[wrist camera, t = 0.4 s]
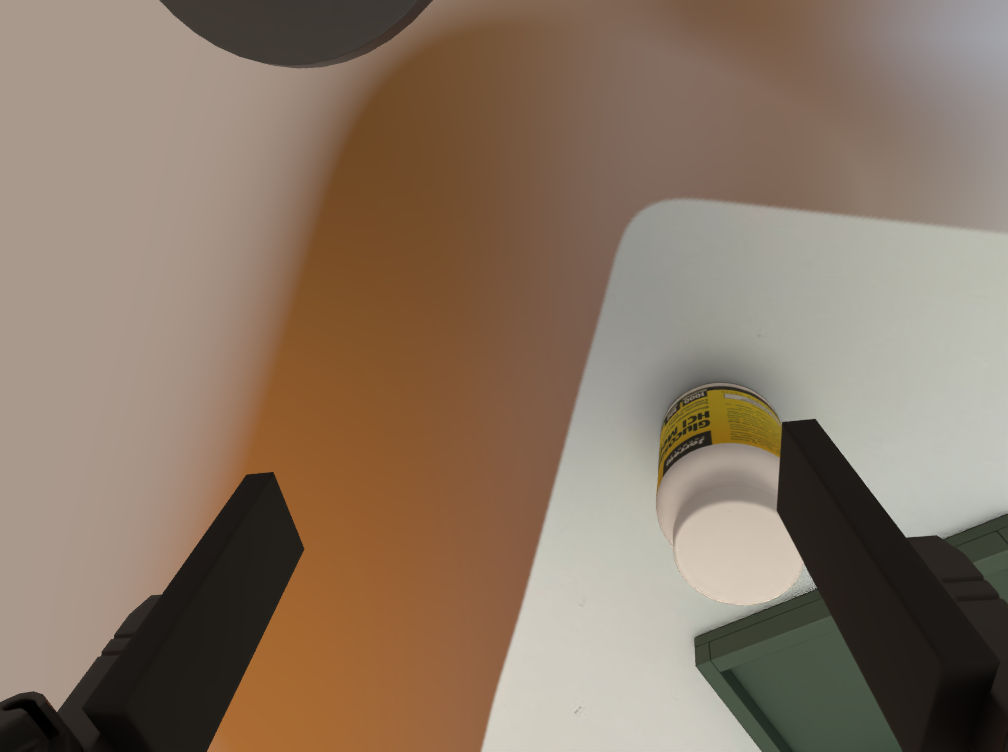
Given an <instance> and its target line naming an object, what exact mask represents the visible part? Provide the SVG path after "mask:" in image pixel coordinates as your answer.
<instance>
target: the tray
mask: <svg viewBox="0 0 1008 752" xmlns="http://www.w3.org/2000/svg"><path fill="white" fill-rule="evenodd" d="M945 541H946V542H948V543H949V544H951V545H952V546H954V547H955V548H957V549H958V550H960V551H961V552H963V553H964V554H965V555H966V556H967V557H968V558H969V559H970V561H971V562H972V563H973V564H974V565H975V566H976V568H977V569H978V570H979V571H980V572H981V573H982V575H983V576H984V580H988V582H989V583H990V584H991V585H992V586H993V587H994V589H995V590H996V591H997V592H998V593H999V596H1000V598H1001V599H1004V600H1005V601H1006V603H1007V604H1008V515H1005V516H1003V517H1000V518H998V519H995V520H993V521H990V522H988V523H985V524H983V525H980V526H978V527H975V528H972V529H970V530H967V531H965V532H962V533H960V534H957V535H955V536H952V537H950V538H947V539H945ZM694 643H695V663H696V667H697V669H698V670H699V671H700V672H701V674H702V675H703V676H704V678H705V679H706V680H707V681H708V683H709V684H710V685H711V687H712V688H713V689H714V690H715V692H716V693H717V694H718V696H719V697H720V698H721V699H722V701H723V702H724V703H725V705H726V706H727V707H728V708H729V710H730V711H731V712H732V714H733V715H734V716H735V718H736V719H737V720H738V721H739V723H740V724H741V725H742V727H743V728H744V729H745V730H746V732H747V733H748V734H749V736H750V737H751V738H752V739H753V741H754V742H755V743H756V745H757V746H758V747H759V748H760V750H761V751H762V752H902V750H901V748H900V746H899V744H898V742H897V740H896V738H895V736H894V734H893V732H892V730H891V729H890V727H889V725H888V723H887V721H886V719H885V717H884V715H883V713H882V711H881V709H880V708H879V706H878V704H877V702H876V700H875V698H874V696H873V694H872V692H871V690H870V688H869V686H868V685H867V683H866V681H865V679H864V677H863V675H862V673H861V671H860V669H859V667H858V665H857V664H856V662H855V660H854V658H853V656H852V654H851V652H850V650H849V648H848V646H847V644H846V643H845V641H844V639H843V637H842V635H841V633H840V631H839V629H838V627H837V625H836V623H835V621H834V620H833V618H832V616H831V614H830V612H829V610H828V608H827V606H826V604H825V602H824V600H823V599H822V597H821V595H820V593H819V591H818V590H815V591H813V592H810V593H808V594H805V595H802V596H800V597H797V598H795V599H792V600H790V601H787V602H785V603H782V604H780V605H777V606H775V607H772V608H770V609H767V610H764V611H762V612H759V613H757V614H754V615H752V616H749V617H747V618H744V619H742V620H739V621H737V622H734V623H731V624H729V625H726V626H724V627H721V628H719V629H716V630H714V631H711V632H709V633H706V634H704V635H701V636H698V637H696V638H694Z"/></svg>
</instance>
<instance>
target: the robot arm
mask: <svg viewBox="0 0 1008 752" xmlns="http://www.w3.org/2000/svg"><path fill="white" fill-rule="evenodd" d="M776 511H777V512H778V514H779V516H780V518H781V520H782V522H783V524H784V526H785V528H786V530H787V532H788V533H789V535H790V537H791V539H792V541H793V543H794V545H795V547H796V549H797V551H798V553H799V555H800V556H801V558H802V560H803V562H804V564H805V566H806V568H807V570H808V572H809V574H810V576H811V577H812V579H813V581H814V583H815V585H816V587H817V589H818V591H819V593H820V595H821V597H822V599H823V600H824V602H825V604H826V606H827V608H828V610H829V612H830V614H831V616H832V618H833V620H834V621H835V623H836V625H837V627H838V629H839V631H840V633H841V635H842V637H843V639H844V641H845V643H846V644H847V646H848V648H849V650H850V652H851V654H852V656H853V658H854V660H855V662H856V664H857V665H858V667H859V669H860V671H861V673H862V675H863V677H864V679H865V681H866V683H867V685H868V686H869V688H870V690H871V692H872V694H873V696H874V698H875V700H876V702H877V704H878V706H879V708H880V709H881V711H882V713H883V715H884V717H885V719H886V721H887V723H888V725H889V727H890V729H891V730H892V732H893V734H894V736H895V738H896V740H897V742H898V744H899V746H900V748H901V750H902V752H1008V604H1007V603H1006V601H1005V600H1004V599H1001V598H1000V596H999V593H998V592H997V591H996V590H995V589H994V587H993V586H992V585H991V584H990V583H989V582H988V580H984V576H983V575H982V573H981V572H980V571H979V570H978V569H977V568H976V566H975V565H974V564H973V563H972V562H971V561H970V559H969V558H968V557H967V556H966V555H965V554H964V553H963V552H961V551H960V550H958V549H957V548H955V547H954V546H952V545H951V544H949V543H948V542H946V541H945V540H943V539H942V538H940V537H939V536H937V535H936V536H923V537H909V538H906V537H905V536H904V534H903V533H902V532H901V530H900V529H899V528H898V527H897V525H896V524H895V523H894V521H893V520H892V519H891V517H890V516H889V515H888V513H887V512H886V511H885V510H884V508H883V507H882V506H881V504H880V503H879V502H878V500H877V499H876V498H875V496H874V495H873V494H872V493H871V491H870V490H869V489H868V487H867V486H866V485H865V483H864V482H863V481H862V479H861V478H860V477H859V475H858V474H857V473H856V472H855V470H854V469H853V468H852V466H851V465H850V464H849V462H848V461H847V460H846V458H845V457H844V456H843V455H842V453H841V452H840V451H839V449H838V448H837V447H836V445H835V444H834V443H833V441H832V440H831V439H830V438H829V436H828V435H827V434H826V432H825V431H824V430H823V428H822V427H821V426H820V424H819V423H818V422H817V420H816V419H809V420H799V421H789V422H782V434H781V449H780V464H779V479H778V495H777V510H776ZM303 551H304V547H303V544H302V542H301V540H300V537H299V534H298V532H297V530H296V527H295V524H294V522H293V520H292V517H291V515H290V512H289V510H288V507H287V505H286V502H285V500H284V497H283V495H282V492H281V490H280V487H279V485H278V483H277V480H276V478H275V475H274V473H273V472H270V473H259V474H248V475H246V476H245V478H244V479H243V481H242V482H241V484H240V485H239V486H238V488H237V489H236V490H235V492H234V494H233V495H232V496H231V498H230V499H229V500H228V502H227V503H226V505H225V506H224V507H223V509H222V510H221V512H220V513H219V514H218V516H217V517H216V519H215V520H214V522H213V523H212V525H211V526H210V527H209V529H208V530H207V531H206V533H205V534H204V536H203V537H202V539H201V540H200V541H199V543H198V544H197V546H196V547H195V548H194V550H193V551H192V553H191V554H190V556H189V557H188V558H187V560H186V561H185V563H184V564H183V565H182V567H181V568H180V570H179V571H178V572H177V574H176V575H175V577H174V578H173V580H172V581H171V582H170V584H169V585H168V587H167V588H166V590H165V591H164V592H163V594H162V595H152V596H150V597H149V598H148V599H147V600H145V601H144V602H143V603H142V604H141V605H140V606H139V607H137V608H136V609H135V610H134V611H133V612H132V613H130V614H129V616H128V617H127V618H126V620H125V621H124V622H123V624H122V625H121V626H120V628H119V629H118V631H117V632H116V633H115V635H114V639H111V640H110V641H109V643H108V644H107V645H106V647H105V648H104V649H103V651H102V655H101V656H100V657H98V658H97V659H96V660H95V662H94V663H93V664H92V666H91V667H90V669H89V670H88V671H87V672H86V674H85V675H84V677H83V678H82V679H81V681H80V682H79V683H78V685H77V686H76V687H75V689H74V690H73V691H72V693H71V694H70V695H69V697H68V698H67V699H66V701H65V702H64V704H63V705H62V706H61V708H60V709H59V710H58V712H56V711H55V710H54V708H53V707H52V705H51V704H50V703H49V702H48V700H47V699H46V698H45V696H44V695H43V694H40V693H37V692H34V691H33V692H27V693H21V694H18V695H15V696H13V697H11V698H8V699H6V700H4V701H2V702H0V752H207V750H208V748H209V746H210V744H211V742H212V740H213V738H214V736H215V733H216V731H217V729H218V727H219V725H220V723H221V721H222V718H223V717H224V715H225V713H226V711H227V708H228V706H229V704H230V702H231V700H232V698H233V696H234V694H235V692H236V690H237V688H238V686H239V684H240V682H241V680H242V677H243V675H244V673H245V671H246V669H247V667H248V665H249V663H250V661H251V659H252V657H253V655H254V652H255V650H256V648H257V646H258V644H259V642H260V640H261V638H262V636H263V634H264V632H265V630H266V628H267V626H268V623H269V621H270V619H271V617H272V615H273V613H274V611H275V609H276V607H277V605H278V603H279V600H280V599H281V596H282V594H283V592H284V590H285V588H286V586H287V584H288V582H289V580H290V578H291V576H292V574H293V572H294V569H295V567H296V565H297V563H298V561H299V559H300V557H301V555H302V553H303Z"/></svg>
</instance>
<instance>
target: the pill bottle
mask: <svg viewBox="0 0 1008 752" xmlns="http://www.w3.org/2000/svg"><path fill="white" fill-rule="evenodd" d="M781 434H782V424H781V422H780V420H779V417H778V415H777V414H776V412H775V411H774V409H773V408H772V406H771V405H770V404H769V403H768V402H767V401H766V400H765V399H764V398H763V397H761V396H760V395H759V394H757V393H756V392H754V391H752V390H750V389H748V388H745V387H742V386H739V385H735V384H729V383H712V384H706V385H702V386H699V387H697V388H694V389H692V390H690V391H688V392H686V393H685V394H683V395H682V396H681V397H680V398H678V399H677V400H676V401H675V402H674V403H673V405H672V406H671V407H670V408H669V410H668V412H667V413H666V415H665V418H664V420H663V424H662V428H661V435H660V449H659V465H658V484H657V495H656V509H657V517H658V521H659V524H660V527H661V530H662V532H663V534H664V536H665V537H666V539H667V540H668V542H669V543H670V544H671V546H672V547H673V552H674V558H675V562H676V564H677V567H678V569H679V571H680V573H681V574H682V576H683V577H684V579H685V580H686V581H687V582H688V583H689V584H690V585H691V586H692V587H693V588H694V589H696V590H697V591H698V592H700V593H702V594H703V595H705V596H707V597H709V598H711V599H713V600H716V601H719V602H723V603H728V604H733V605H753V604H759V603H763V602H767V601H770V600H773V599H774V598H776V597H778V596H780V595H782V594H783V593H785V592H786V591H787V590H788V589H789V588H791V587H792V585H793V584H794V583H795V582H796V581H797V579H798V578H799V576H800V574H801V571H802V569H803V565H804V562H803V560H802V558H801V556H800V555H799V553H798V551H797V549H796V547H795V545H794V543H793V541H792V539H791V537H790V535H789V533H788V532H787V530H786V528H785V526H784V524H783V522H782V520H781V518H780V516H779V514H778V512H777V511H776V510H777V495H778V479H779V464H780V449H781Z"/></svg>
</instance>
